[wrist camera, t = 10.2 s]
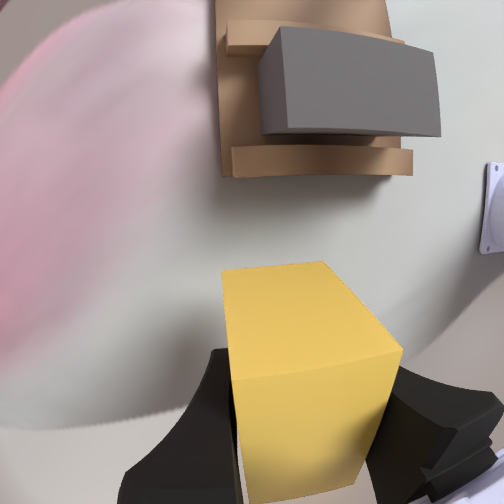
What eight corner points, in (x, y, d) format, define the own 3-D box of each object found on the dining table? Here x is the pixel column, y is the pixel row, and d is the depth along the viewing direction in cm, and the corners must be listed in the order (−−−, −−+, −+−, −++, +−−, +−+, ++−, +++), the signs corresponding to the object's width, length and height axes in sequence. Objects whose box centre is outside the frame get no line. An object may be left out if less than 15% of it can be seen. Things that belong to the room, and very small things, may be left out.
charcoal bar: (261, 135, 16) (287, 127, 10) (256, 66, 14) (280, 25, 9) (376, 136, 16) (441, 137, 11) (372, 74, 15) (433, 52, 9)
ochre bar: (221, 270, 11) (231, 380, 6) (323, 261, 12) (403, 349, 6) (235, 400, 14) (249, 505, 8) (314, 389, 14) (353, 484, 9)
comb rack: (373, -24, 13) (392, -39, 10) (394, 171, 18) (419, 176, 15) (214, -42, 12) (215, -66, 9) (222, 175, 17) (224, 179, 14)
